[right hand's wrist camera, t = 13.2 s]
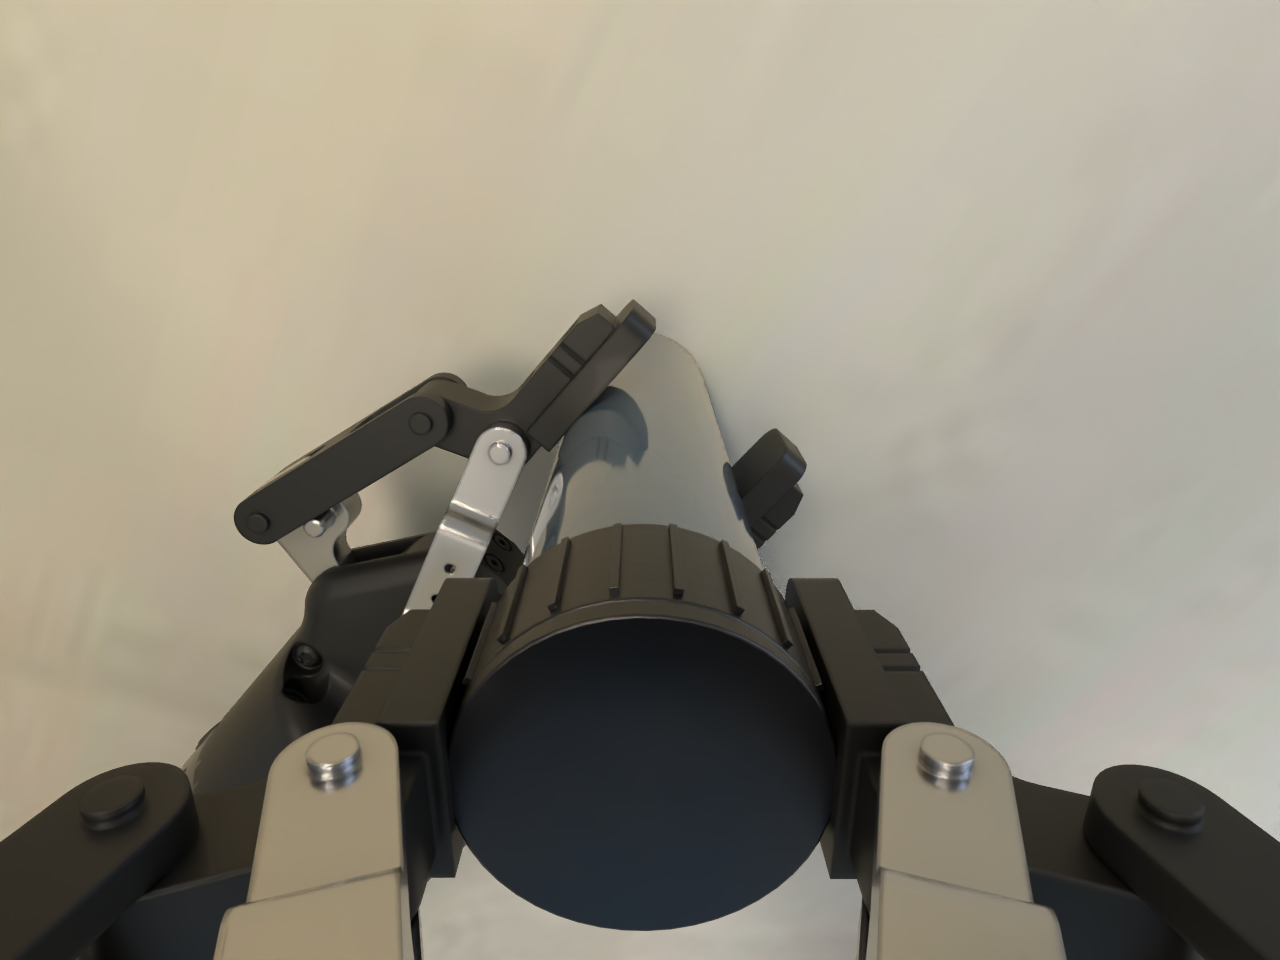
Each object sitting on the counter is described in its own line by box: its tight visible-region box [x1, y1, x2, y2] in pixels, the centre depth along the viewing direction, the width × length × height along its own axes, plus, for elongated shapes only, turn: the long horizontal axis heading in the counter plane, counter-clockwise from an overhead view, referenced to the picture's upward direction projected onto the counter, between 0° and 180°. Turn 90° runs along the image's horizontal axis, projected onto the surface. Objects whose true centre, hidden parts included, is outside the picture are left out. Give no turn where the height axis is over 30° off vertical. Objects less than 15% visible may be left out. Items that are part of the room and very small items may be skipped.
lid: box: [448, 523, 837, 931], centre depth 10 cm, size 5×5×2 cm
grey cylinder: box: [521, 334, 764, 571], centre depth 18 cm, size 4×4×17 cm
